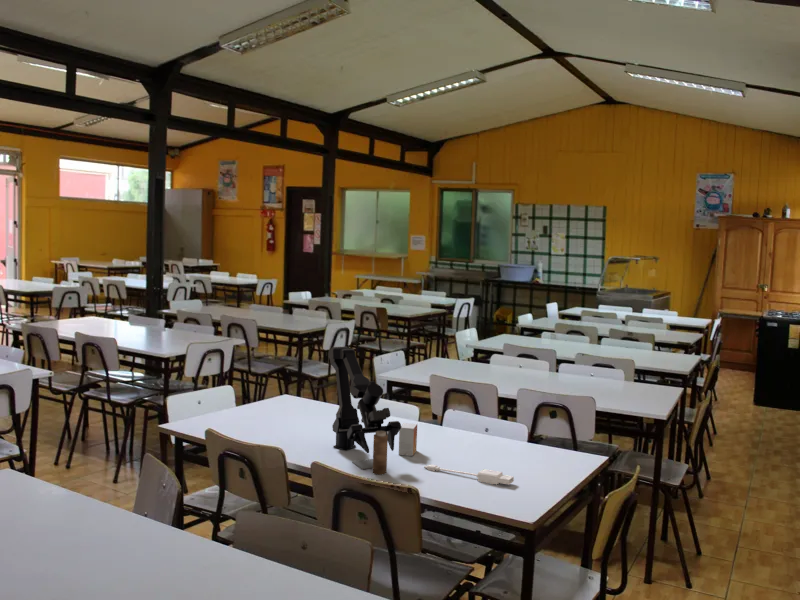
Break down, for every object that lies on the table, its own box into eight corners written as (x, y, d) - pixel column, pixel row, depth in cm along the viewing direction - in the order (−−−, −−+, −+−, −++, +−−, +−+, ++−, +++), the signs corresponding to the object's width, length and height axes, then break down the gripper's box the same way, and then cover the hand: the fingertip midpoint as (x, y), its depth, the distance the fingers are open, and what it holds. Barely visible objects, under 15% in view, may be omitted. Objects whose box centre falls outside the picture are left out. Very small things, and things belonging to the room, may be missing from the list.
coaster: (352, 462, 261) (352, 461, 261) (375, 459, 265) (375, 458, 264) (361, 469, 253) (361, 468, 252) (385, 467, 256) (385, 465, 256)
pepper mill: (369, 472, 249) (371, 432, 248) (377, 469, 253) (378, 429, 252) (381, 475, 247) (382, 434, 246) (389, 472, 251) (390, 431, 250)
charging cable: (428, 469, 259) (428, 460, 259) (514, 483, 243) (514, 473, 243) (421, 473, 255) (421, 463, 254) (508, 487, 238) (508, 477, 238)
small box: (412, 456, 271) (413, 428, 270) (398, 455, 272) (399, 427, 271) (416, 450, 278) (417, 423, 278) (402, 449, 279) (403, 422, 279)
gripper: (350, 401, 249) (362, 441, 239) (400, 398, 257) (413, 436, 248) (342, 419, 256) (353, 458, 247) (390, 415, 264) (402, 453, 255)
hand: (380, 451), depth 249 cm, fingers open, 9 cm apart
